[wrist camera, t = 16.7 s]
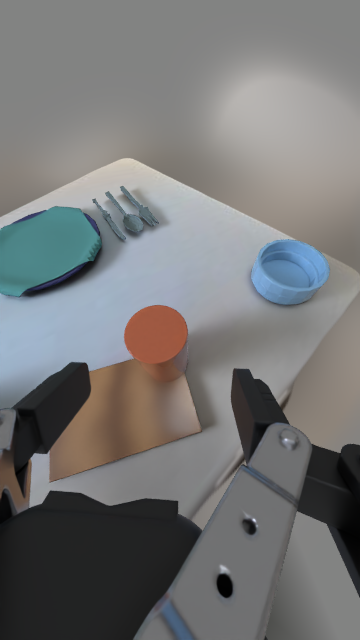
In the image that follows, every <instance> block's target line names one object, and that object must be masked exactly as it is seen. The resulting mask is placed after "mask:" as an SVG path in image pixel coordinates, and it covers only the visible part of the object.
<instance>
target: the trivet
mask: <svg viewBox="0 0 360 640" xmlns="http://www.w3.org/2000/svg"><path fill="white" fill-rule="evenodd" d="M89 376H90V382H91V393H90V396H89V398H88V400H87V401H86V402H85V404H84V405H83V406H82V408H81V409H80V410H79V412H78V413H77V414H76V416H75V417H74V418H73V420H72V421H71V422H70V424H69V425H68V426H67V428H66V429H65V430H64V432H63V433H62V434H61V436H60V437H59V438H58V440H57V441H56V442H55V444H54V445H53V446H52V448H51V449H50V462H49V482H53V481H56V480H59V479H62V478H65V477H68V476H71V475H74V474H77V473H80V472H83V471H85V470H88V469H91V468H94V467H97V466H100V465H103V464H106V463H109V462H112V461H115V460H118V459H121V458H124V457H127V456H130V455H133V454H136V453H139V452H142V451H145V450H148V449H151V448H154V447H157V446H160V445H163V444H166V443H169V442H172V441H175V440H178V439H181V438H184V437H187V436H190V435H193V434H196V433H199V432H202V429H201V426H200V422H199V419H198V416H197V412H196V409H195V406H194V402H193V399H192V396H191V392H190V389H189V386H188V382H187V379H186V376H185V372H184V373H183V375H182V376H181V377H179V378H178V379H176V380H174V381H172V382H167V383H163V382H158V381H156V380H154V379H152V378H151V377H150V376H149V375H148V374H147V373H146V372H145V370H144V369H143V368H142V367H141V366H140V364H139V363H138V362H137V361H136V360H135V359H132V360H128V361H125V362H121V363H118V364H114V365H111V366H108V367H104V368H101V369H97V370H94V371H90V372H89Z"/></svg>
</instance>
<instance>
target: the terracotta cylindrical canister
mask: <svg viewBox="0 0 360 640" xmlns="http://www.w3.org/2000/svg"><path fill="white" fill-rule="evenodd" d="M124 340H125V345H126V347H127V349H128V351H129V353H130V354H131V355H132V356H133V357H134V358H135V360H136V361H137V362H138V363H139V364H140V366H141V367H142V368H143V369H144V370H145V372H146V373H147V374H148V375H149V376H150V377H151V378H152V379H154V380H156V381H158V382H163V383H167V382H172V381H174V380H176V379H178V378H179V377H181V376H182V375H183V373H184V372H185V370H186V368H187V365H188V329H187V325H186V322H185V320H184V318H183V317H182V315H181V314H180V313H179V312H177V311H176V310H174V309H172V308H170V307H168V306H163V305H154V306H149V307H146V308H143V309H141V310H140V311H138V312H137V313H136V314H134V315H133V316H132V318H131V319H130V320H129V322H128V323H127V326H126V329H125V333H124Z"/></svg>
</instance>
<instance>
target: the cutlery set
mask: <svg viewBox="0 0 360 640" xmlns="http://www.w3.org/2000/svg"><path fill="white" fill-rule="evenodd" d="M120 188H121V191H122V192H123V193H124V194H125V195H126V196H127V197H128V198H129V200H130V201H131V202H132V203H133V204H134V205H135V206H136V207H138V208H139V215H140V216H142V217H143V218H144V219H145V220H146V221H147V222H148V223H149V224H150V225H151V226H153V224H155V225H156V223H158V224H159V222H158V221H157V220H156V219H155V217H154V216H153V215H152V213H151V212H150V211H149V209H148V207H143V205H140V204H139V203H138V202H137V201H136V200H135V199H134V198H133V197H132V196H131V195H130V193H129V192H128V191H127V190H126V189H125V188H124V187H123V186H121V187H120ZM105 194H106V196H107V197H108V198H109V199H110V200H111V201H112V202H113V203H114V204H115V205H116V206H117V208H118V209H119V210H120V211H121V212H122V213H123V215H124V218H123V223H124V225H125V227H126V228H128V229H129V230H130V231H135V232H138V231H141V230H142V229H143V223H142V221H141V219H140V218H138V217H137V216H135V215H131V214H126V213H125V212H124V210H123V209H122V208H121V206H120V205H119V204H118V202H117V201H116V200H115V199H114V197H113V196H112V195H111V194H110V193H109V192H106V193H105ZM93 203H95V204H96V205H97V206H98V207H99V209H100V210H101V212H102V214H103V217H105V220H106V221H108V222H109V224H110V226H111V227H112V229H113V230H114V231H115V233H116V234H117V235H118V236H119V237H120V238H121V239H126V237H125V236H124V235H123V234H122V232H121V231H120V230H119V229H118V227H117V226H116V225H115V224H114V222H113V221H112V220H111V217H110V214H108V213H107V211H105V210H103V208H102V207H101V206H100V205H99V204H98V203H97V201H96V199H93ZM152 219H153V220H154V221H155V222H156V223H155V222H154V221H153V220H152ZM150 221H151V222H152V223H153V224H152V223H151V222H150ZM99 236H100V232H99V229H98V227H97V224H96V222H95V221H94V220H93V219H92V218H91V217H90V216H89V215H87V214H85V213H83V212H82V211H81V210H80V209H79V208H71V207H58V206H56V207H52V208H50V209H48V210H44V211H41V212H37V213H34V214H31V215H28V216H26V217H24V218H22V219H20V220H18V221H16V222H13V223H12V224H11V225H8V226H5V227H3V228H1V230H0V293H1V294H4V295H8V296H16V297H20V295H21V294H22V293H23V292H24V291H31V290H39V289H43V288H46V287H49V286H51V285H54V284H57V283H60V282H62V281H64V280H65V279H67V278H68V277H70V276H72V275H73V274H75V273H76V272H78V271H79V270H80V269H81V268H82V267H83V266H84V265H85V264H86V263H87V262H88V261H94V258H95V257H96V254H97V253H98V251H99V249H100V248H101V245H102V242H101V239H100V237H99Z"/></svg>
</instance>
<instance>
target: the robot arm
mask: <svg viewBox="0 0 360 640" xmlns="http://www.w3.org/2000/svg"><path fill="white" fill-rule="evenodd" d="M90 393H91V382H90V376H89V370H88V365H87V364H86V363H81V362H71V363H69V364H68V365H67V366H66V367H64V368H63V369H62V370H61V371H59V372H57V373H55V374H53V375H51V376H50V377H48V378H47V379H46V380H45V381H43V382H42V384H40V385H39V386H37V387H36V389H34V390H33V391H31V392H30V393H29V394H28V395H27V396H25V397H24V398H23V399H22V400H20V401H19V402H18V403H17V404H16V405H14V406H13V407H12V408H4V409H0V640H268V639H267V637H266V636H265V633H266V629H267V625H268V621H269V617H270V614H271V610H272V606H273V602H274V598H275V594H276V590H277V586H278V582H279V578H280V575H281V570H282V566H283V563H284V559H285V555H286V551H287V547H288V543H289V539H290V535H291V532H292V528H293V524H294V520H295V516H296V512H297V511H298V512H301V513H303V514H305V515H308V516H310V517H312V518H314V519H317V520H319V521H321V522H324V523H326V524H327V526H328V528H329V530H330V532H331V534H332V537H333V539H334V541H335V543H336V545H337V548H338V550H339V552H340V555H341V557H342V559H343V561H344V563H345V566H346V568H347V570H348V572H349V574H350V577H351V579H352V581H353V584H354V586H355V588H356V590H357V592H358V594H359V597H360V445H356V444H347V445H345V446H344V447H343V448H342V449H341V453H337V452H334V451H331V450H328V449H325V448H321V447H318V446H315V445H313V444H311V443H310V441H309V439H308V438H307V436H306V435H305V434H304V433H302V432H301V431H300V430H298V429H297V428H295V427H293V426H291V425H290V424H289V422H288V420H287V419H286V417H285V415H284V413H283V412H282V410H281V408H280V406H279V405H278V403H277V401H276V399H275V398H274V396H273V395H272V392H271V390H270V389H269V387H268V385H266V384H265V383H264V382H263V381H262V380H260V379H254V378H253V376H252V374H251V372H250V370H249V369H235V368H234V370H233V378H232V389H231V403H232V408H233V412H234V416H235V420H236V424H237V428H238V432H239V436H240V440H241V444H242V448H243V452H244V456H245V460H246V464H247V466H245V465H244V464H243V465H241V467H240V468H239V469H238V471H237V473H236V474H235V476H234V478H233V480H232V482H231V483H230V485H229V487H228V488H227V490H226V492H225V493H224V495H223V497H222V499H221V500H220V502H219V504H218V505H217V507H216V509H215V511H214V513H213V514H212V516H211V518H210V519H209V521H208V523H207V524H206V526H205V528H204V530H203V531H202V530H201V529H200V528H199V527H198V526H197V525H196V524H195V523H193V522H192V521H191V520H189V519H187V518H186V517H184V516H182V515H180V514H178V501H172V500H160V499H147V498H145V499H140V500H136V501H131V502H127V503H122V504H118V505H113V506H108V505H105V504H103V503H101V502H99V501H97V500H94V499H92V498H90V497H88V496H86V495H84V494H82V493H74V492H62V491H50V492H49V493H48V495H47V497H46V498H45V500H44V501H43V503H42V504H40V505H37V506H34V507H31V508H29V500H30V483H31V466H32V463H31V459H30V458H31V457H32V456H33V454H34V453H39V454H47V453H48V452H49V450H50V449H51V448H52V446H53V445H54V444H55V442H56V441H57V440H58V438H59V437H60V436H61V434H62V433H63V432H64V430H65V429H66V428H67V426H68V425H69V424H70V422H71V421H72V420H73V418H74V417H75V416H76V414H77V413H78V412H79V410H80V409H81V408H82V406H83V405H84V404H85V402H86V401H87V400H88V398H89V396H90Z"/></svg>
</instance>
